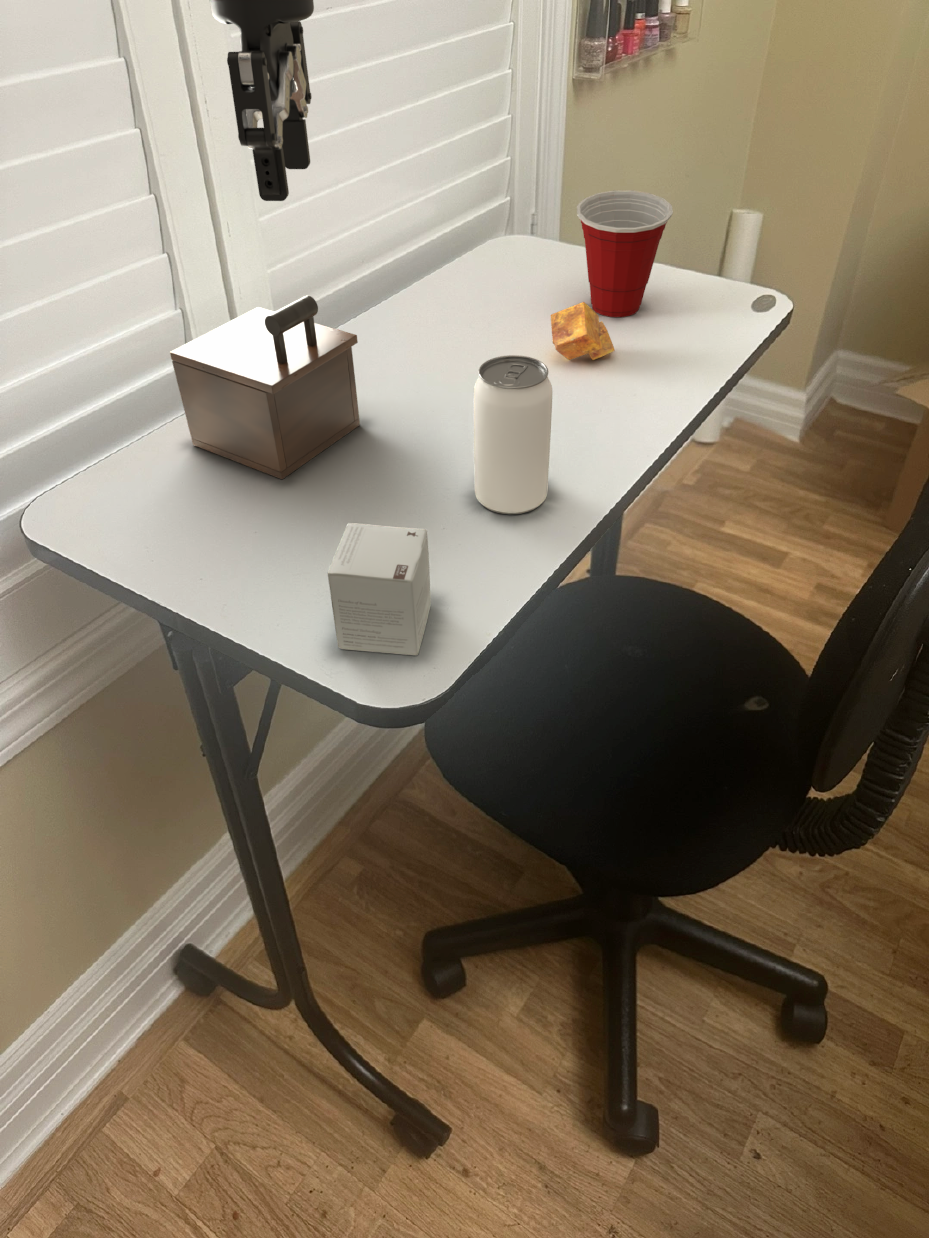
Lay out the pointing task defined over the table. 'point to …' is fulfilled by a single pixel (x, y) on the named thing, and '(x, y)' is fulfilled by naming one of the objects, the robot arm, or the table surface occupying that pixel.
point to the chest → (271, 415)
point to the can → (512, 433)
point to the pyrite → (580, 333)
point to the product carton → (381, 588)
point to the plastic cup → (621, 246)
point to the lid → (267, 346)
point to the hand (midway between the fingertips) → (286, 183)
